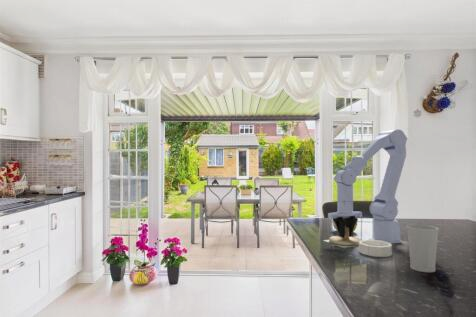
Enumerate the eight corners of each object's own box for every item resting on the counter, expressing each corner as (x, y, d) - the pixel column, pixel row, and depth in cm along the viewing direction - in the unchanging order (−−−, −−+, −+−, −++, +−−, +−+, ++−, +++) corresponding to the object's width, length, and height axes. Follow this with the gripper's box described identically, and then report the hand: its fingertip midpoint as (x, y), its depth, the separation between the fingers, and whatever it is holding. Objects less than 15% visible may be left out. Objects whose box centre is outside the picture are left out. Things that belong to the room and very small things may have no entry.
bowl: (375, 248, 113) (375, 238, 114) (398, 256, 104) (398, 245, 104) (353, 251, 110) (353, 241, 110) (374, 259, 101) (374, 248, 101)
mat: (347, 238, 129) (347, 237, 129) (369, 245, 118) (369, 244, 118) (322, 241, 124) (322, 240, 124) (343, 248, 113) (343, 247, 113)
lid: (347, 236, 129) (347, 224, 129) (369, 243, 118) (369, 229, 118) (322, 239, 124) (322, 226, 125) (343, 246, 113) (343, 232, 113)
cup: (428, 275, 86) (427, 230, 86) (401, 266, 93) (400, 225, 93) (445, 270, 90) (444, 228, 90) (417, 263, 97) (417, 223, 97)
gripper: (353, 199, 128) (353, 233, 127) (323, 200, 123) (323, 235, 122) (365, 201, 121) (366, 236, 121) (334, 202, 116) (335, 239, 116)
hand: (345, 236), depth 121 cm, fingers closed on lid, 3 cm apart
